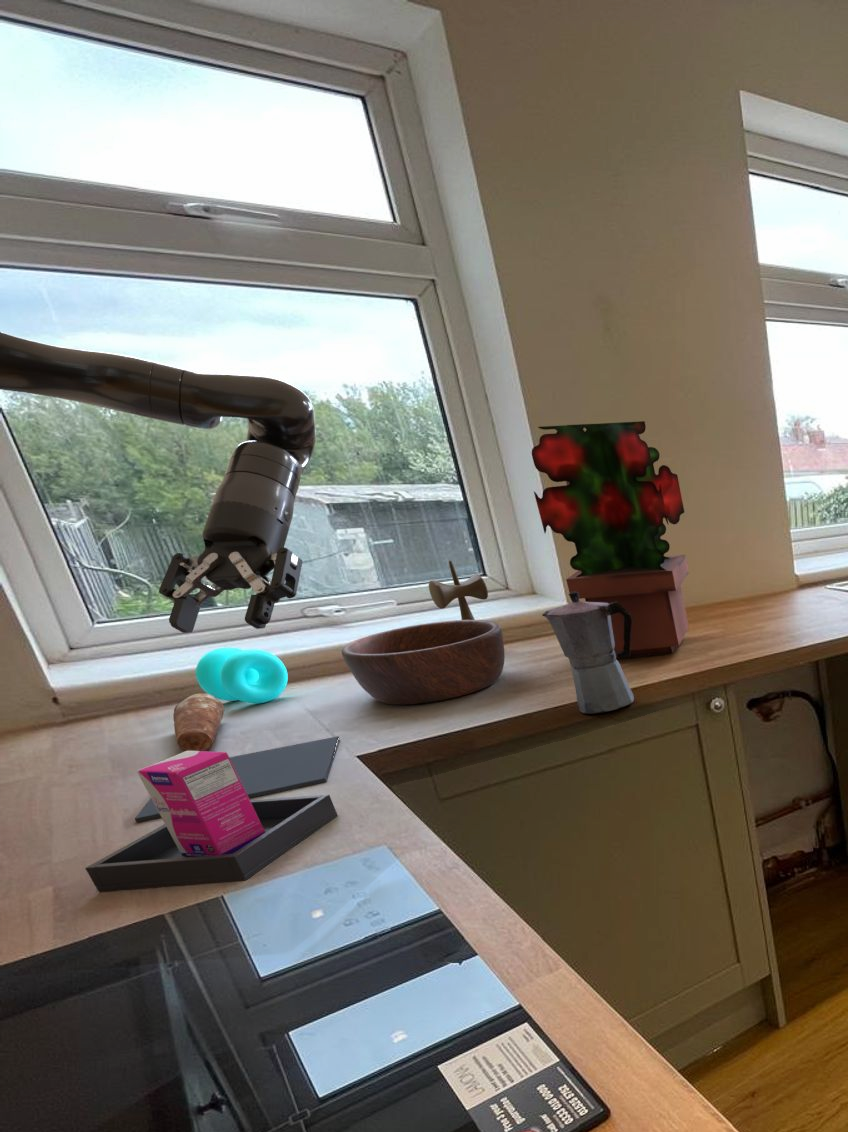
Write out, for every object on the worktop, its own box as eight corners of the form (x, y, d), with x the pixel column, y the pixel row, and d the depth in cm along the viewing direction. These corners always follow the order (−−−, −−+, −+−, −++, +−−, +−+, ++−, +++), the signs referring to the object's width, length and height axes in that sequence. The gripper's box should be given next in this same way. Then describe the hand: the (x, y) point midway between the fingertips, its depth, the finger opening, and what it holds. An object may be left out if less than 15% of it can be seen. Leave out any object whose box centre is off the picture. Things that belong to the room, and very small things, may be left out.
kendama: (448, 656, 175) (418, 563, 167) (495, 645, 182) (469, 555, 174) (459, 660, 172) (429, 565, 164) (507, 649, 179) (480, 557, 171)
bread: (230, 719, 143) (217, 689, 140) (220, 751, 129) (205, 718, 126) (182, 728, 139) (168, 698, 137) (167, 762, 125) (150, 728, 123)
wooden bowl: (521, 690, 151) (505, 636, 147) (357, 722, 138) (335, 664, 134) (508, 660, 170) (494, 612, 166) (363, 686, 157) (344, 635, 153)
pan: (98, 892, 90) (84, 868, 89) (211, 825, 104) (201, 803, 103) (245, 880, 91) (234, 856, 90) (338, 815, 105) (329, 794, 104)
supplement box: (179, 858, 95) (133, 769, 90) (230, 833, 100) (190, 748, 96) (219, 860, 94) (175, 771, 90) (269, 835, 99) (230, 749, 95)
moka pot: (580, 698, 145) (551, 587, 137) (664, 695, 145) (640, 583, 137) (552, 717, 136) (519, 599, 129) (641, 714, 136) (613, 596, 128)
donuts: (241, 711, 146) (217, 658, 142) (205, 707, 149) (181, 655, 145) (300, 693, 155) (279, 643, 151) (265, 690, 158) (244, 640, 154)
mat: (136, 822, 106) (134, 818, 106) (175, 771, 121) (173, 768, 121) (326, 781, 115) (324, 778, 115) (339, 739, 131) (338, 736, 131)
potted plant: (695, 657, 166) (647, 421, 148) (579, 668, 162) (517, 427, 144) (707, 630, 186) (666, 420, 168) (604, 640, 182) (552, 425, 164)
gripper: (165, 502, 100) (125, 615, 94) (285, 495, 101) (253, 607, 95) (218, 539, 107) (184, 646, 101) (330, 533, 108) (302, 639, 102)
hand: (217, 627), depth 98 cm, fingers open, 8 cm apart
